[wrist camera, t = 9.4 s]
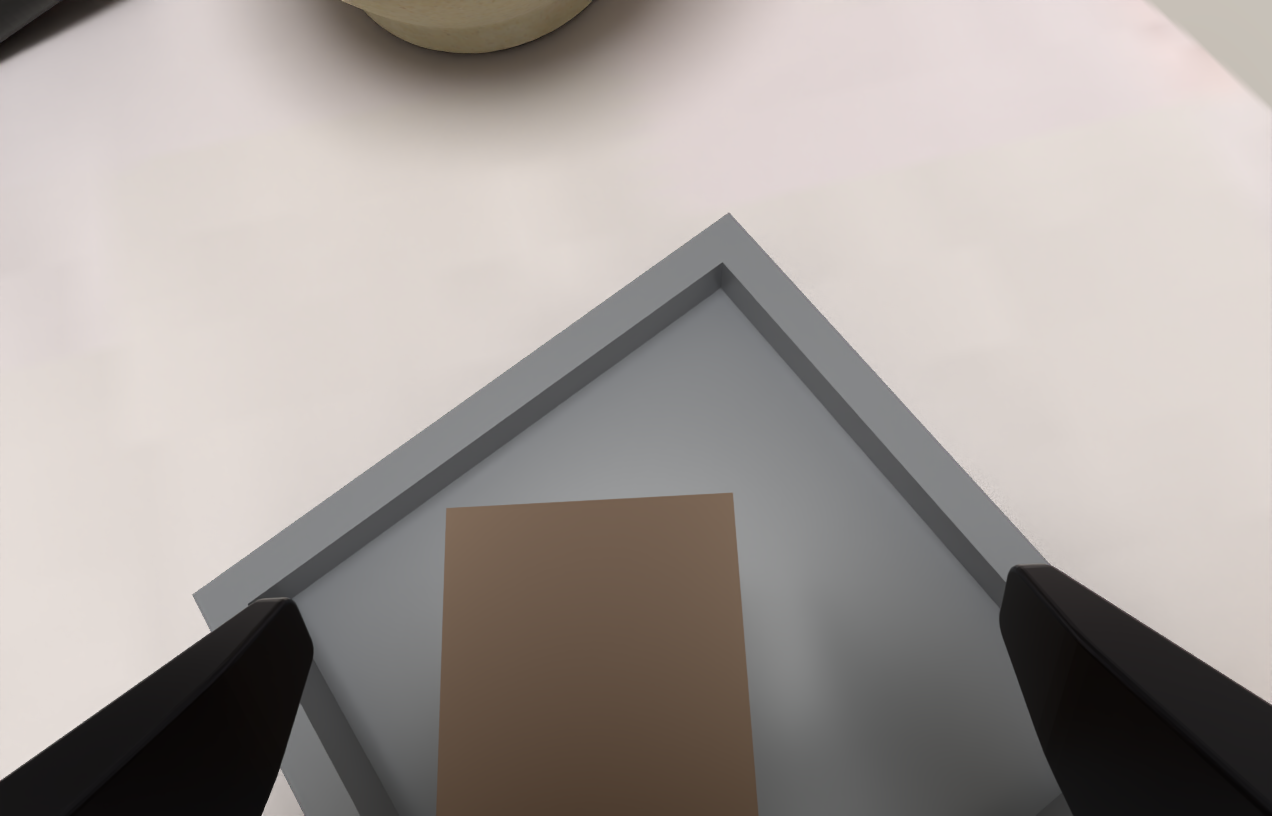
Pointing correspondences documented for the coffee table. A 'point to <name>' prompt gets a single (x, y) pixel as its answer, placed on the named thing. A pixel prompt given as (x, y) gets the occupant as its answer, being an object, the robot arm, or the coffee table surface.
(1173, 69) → the coffee table surface
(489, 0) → the planter bowl
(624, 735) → the walnut block
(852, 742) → the tray
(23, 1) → the black curved fin
